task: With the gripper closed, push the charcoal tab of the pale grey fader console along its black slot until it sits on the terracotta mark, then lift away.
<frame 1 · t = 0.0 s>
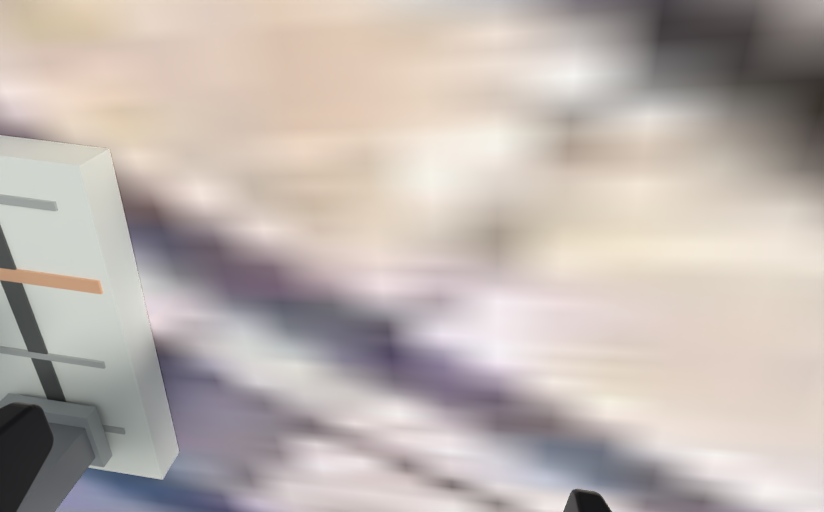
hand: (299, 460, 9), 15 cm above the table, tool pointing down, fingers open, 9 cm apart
fader console: (61, 315, 28), on the table
fader slider: (23, 469, 27), point 5 cm above the table, slide at 0.0 cm
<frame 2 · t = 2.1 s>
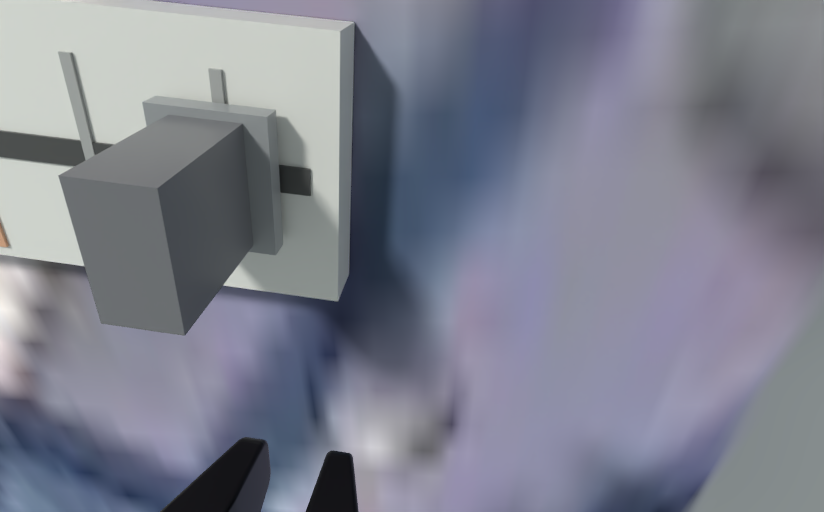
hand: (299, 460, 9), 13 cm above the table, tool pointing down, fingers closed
fader console: (99, 133, 21), on the table
fader slider: (182, 211, 16), point 5 cm above the table, slide at 0.0 cm
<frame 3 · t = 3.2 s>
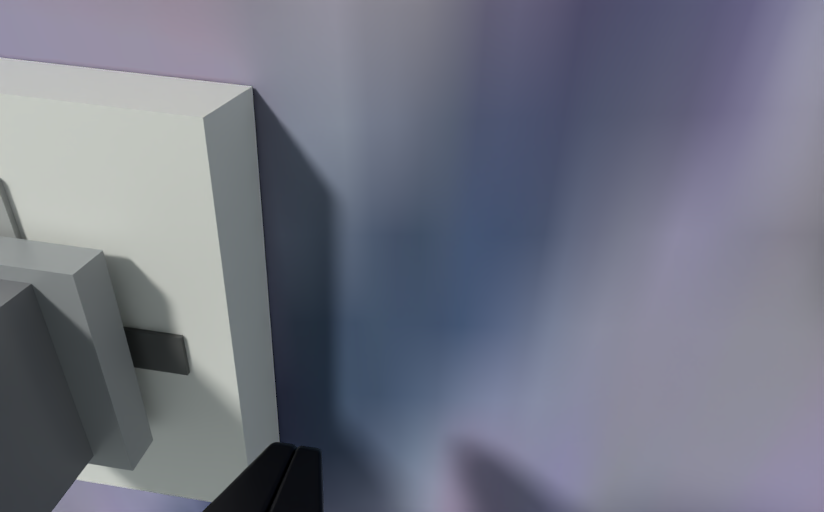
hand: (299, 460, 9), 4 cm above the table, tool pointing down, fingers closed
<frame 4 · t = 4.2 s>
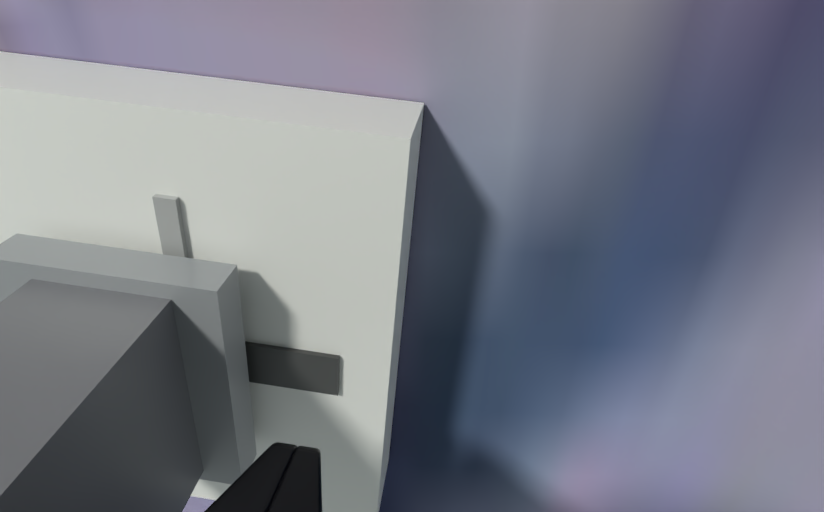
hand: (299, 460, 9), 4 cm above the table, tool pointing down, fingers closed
fader slider: (47, 485, 8), point 5 cm above the table, slide at 0.8 cm, touching gripper
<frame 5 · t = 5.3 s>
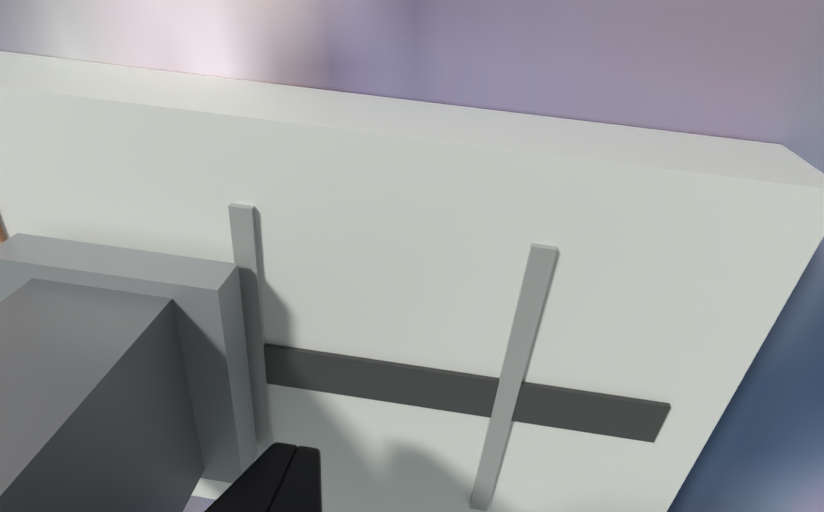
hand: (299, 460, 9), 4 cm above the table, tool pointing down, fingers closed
fader console: (247, 296, 12), on the table
fader slider: (48, 484, 8), point 5 cm above the table, slide at 7.1 cm, touching gripper
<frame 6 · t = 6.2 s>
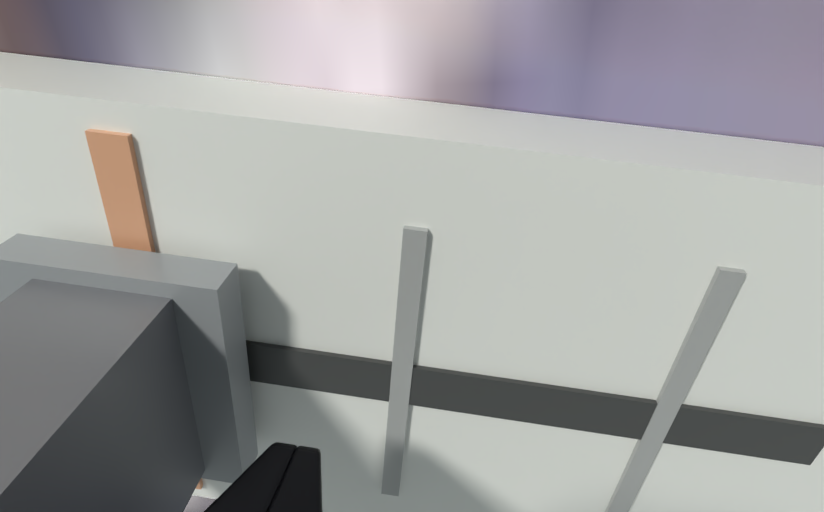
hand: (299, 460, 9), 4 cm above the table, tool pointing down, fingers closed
fader console: (370, 313, 12), on the table
fader slider: (48, 484, 8), point 5 cm above the table, slide at 10.0 cm, touching gripper
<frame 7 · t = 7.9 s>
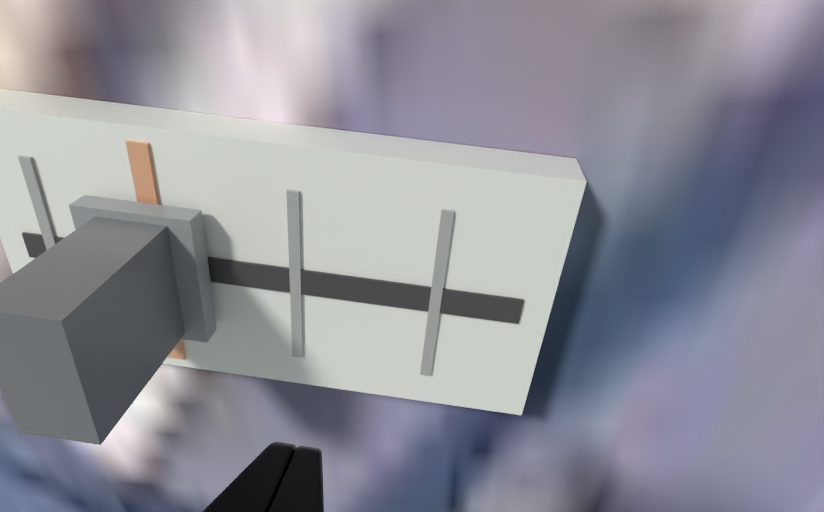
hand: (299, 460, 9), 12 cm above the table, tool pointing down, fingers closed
fader console: (286, 249, 21), on the table
fader slider: (105, 314, 16), point 5 cm above the table, slide at 10.0 cm
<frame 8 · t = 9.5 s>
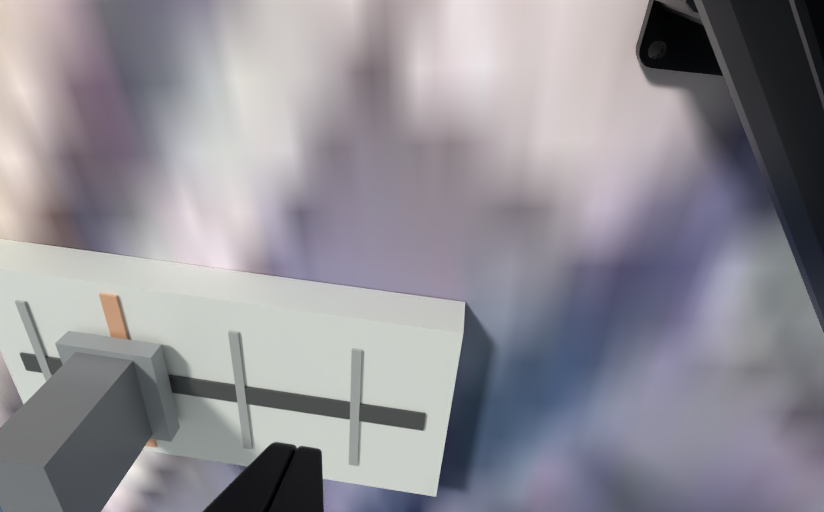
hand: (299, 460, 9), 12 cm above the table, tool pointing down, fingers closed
fader console: (238, 358, 25), on the table
fader slider: (83, 435, 21), point 5 cm above the table, slide at 10.0 cm
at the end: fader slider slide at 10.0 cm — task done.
